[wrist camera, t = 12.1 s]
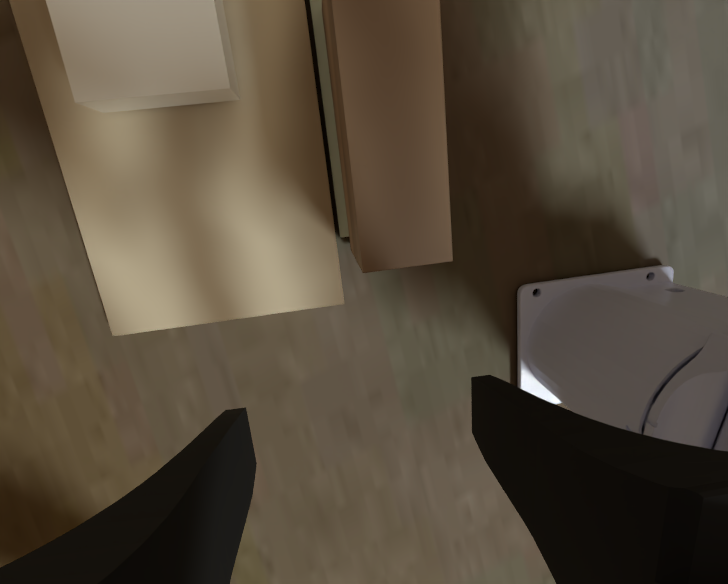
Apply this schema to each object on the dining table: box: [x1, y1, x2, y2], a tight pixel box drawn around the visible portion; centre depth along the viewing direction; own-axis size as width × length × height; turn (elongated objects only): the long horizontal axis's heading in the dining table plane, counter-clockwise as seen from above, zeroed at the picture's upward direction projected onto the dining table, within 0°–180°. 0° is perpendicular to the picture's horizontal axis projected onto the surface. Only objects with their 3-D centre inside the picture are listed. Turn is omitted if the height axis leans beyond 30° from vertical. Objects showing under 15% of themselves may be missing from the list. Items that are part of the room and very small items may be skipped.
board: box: [9, 0, 344, 336], centre depth 18 cm, size 12×17×1 cm
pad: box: [310, 0, 349, 238], centre depth 18 cm, size 4×14×1 cm, turn 7°
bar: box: [322, 0, 453, 273], centre depth 16 cm, size 4×11×6 cm, turn 7°
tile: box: [46, 0, 240, 113], centre depth 15 cm, size 6×2×6 cm
